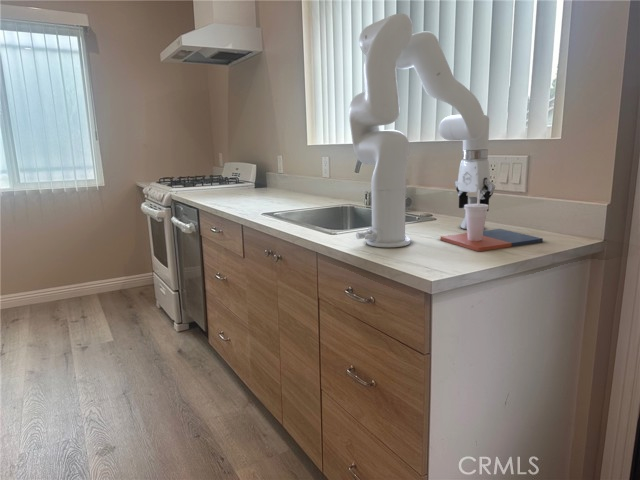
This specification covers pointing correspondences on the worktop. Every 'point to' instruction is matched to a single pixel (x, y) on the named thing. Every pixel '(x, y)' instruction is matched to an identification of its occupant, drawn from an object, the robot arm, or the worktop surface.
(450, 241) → the sorting board
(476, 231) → the smoothie
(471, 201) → the flask
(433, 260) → the worktop surface
